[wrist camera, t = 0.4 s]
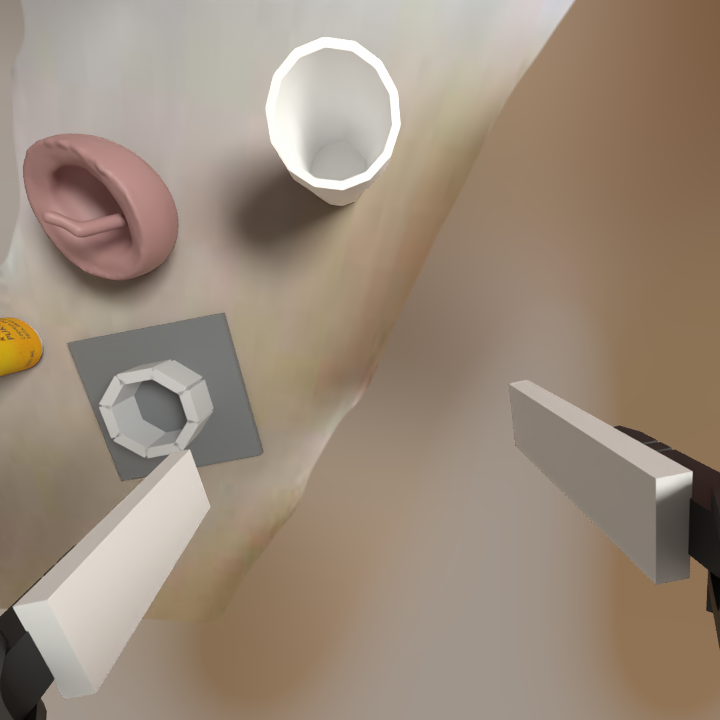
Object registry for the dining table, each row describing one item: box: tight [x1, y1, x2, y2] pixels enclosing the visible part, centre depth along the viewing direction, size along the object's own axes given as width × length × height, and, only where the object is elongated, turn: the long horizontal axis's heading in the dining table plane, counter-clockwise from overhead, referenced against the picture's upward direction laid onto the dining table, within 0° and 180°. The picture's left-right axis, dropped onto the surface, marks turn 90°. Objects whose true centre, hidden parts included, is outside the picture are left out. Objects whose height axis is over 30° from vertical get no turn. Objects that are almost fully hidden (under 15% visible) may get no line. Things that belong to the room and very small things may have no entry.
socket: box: [67, 313, 263, 481], centre depth 39 cm, size 18×18×5 cm
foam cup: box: [265, 37, 401, 206], centre depth 30 cm, size 10×9×13 cm
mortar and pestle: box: [23, 134, 178, 280], centre depth 31 cm, size 12×12×11 cm
